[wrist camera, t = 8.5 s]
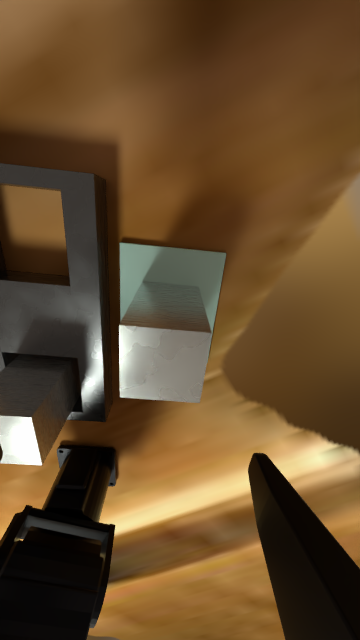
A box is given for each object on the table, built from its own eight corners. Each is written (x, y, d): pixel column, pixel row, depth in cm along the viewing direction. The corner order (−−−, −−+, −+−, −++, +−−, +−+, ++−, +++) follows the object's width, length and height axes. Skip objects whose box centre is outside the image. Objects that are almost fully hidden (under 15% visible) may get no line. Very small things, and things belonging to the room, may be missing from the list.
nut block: (191, 335, 20) (199, 402, 13) (140, 331, 20) (119, 397, 13) (198, 286, 19) (211, 333, 11) (142, 281, 18) (119, 325, 11)
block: (84, 386, 23) (42, 465, 16) (38, 383, 23) (-26, 461, 16) (80, 348, 21) (31, 417, 14) (30, 344, 21) (-46, 412, 14)
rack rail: (112, 402, 24) (105, 421, 22) (13, 395, 24) (-5, 415, 21) (105, 179, 16) (93, 173, 14) (-48, 162, 15) (-87, 153, 13)
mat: (206, 360, 22) (207, 363, 22) (121, 354, 22) (120, 356, 21) (225, 252, 18) (226, 253, 18) (120, 242, 18) (119, 242, 17)
